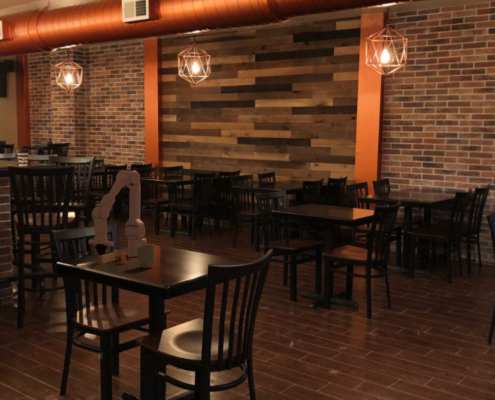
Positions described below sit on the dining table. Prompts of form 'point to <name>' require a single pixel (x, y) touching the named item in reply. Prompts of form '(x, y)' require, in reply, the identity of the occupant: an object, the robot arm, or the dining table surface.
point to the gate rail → (106, 258)
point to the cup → (146, 256)
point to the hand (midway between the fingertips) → (101, 259)
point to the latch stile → (123, 258)
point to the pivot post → (116, 254)
